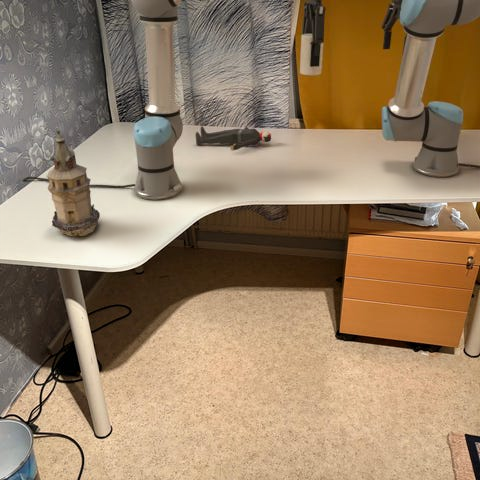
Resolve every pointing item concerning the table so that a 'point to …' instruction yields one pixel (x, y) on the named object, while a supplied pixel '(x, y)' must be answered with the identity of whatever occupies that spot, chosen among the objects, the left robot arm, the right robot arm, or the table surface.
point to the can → (306, 55)
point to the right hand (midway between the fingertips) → (395, 52)
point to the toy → (233, 137)
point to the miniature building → (70, 193)
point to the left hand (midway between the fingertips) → (310, 63)
